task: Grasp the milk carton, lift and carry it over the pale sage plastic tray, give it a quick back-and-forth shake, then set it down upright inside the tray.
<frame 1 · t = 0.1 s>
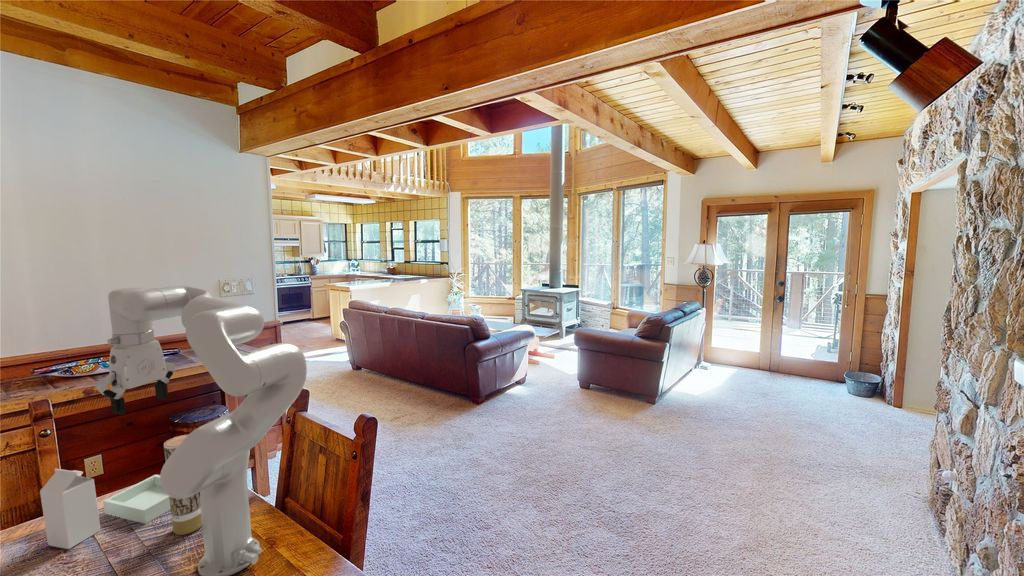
hand: (141, 405, 106), 37 cm above the table, tool pointing down, fingers open, 9 cm apart
paper tube: (189, 528, 115), on the table
milk carton: (75, 538, 112), on the table
tray: (151, 503, 126), on the table
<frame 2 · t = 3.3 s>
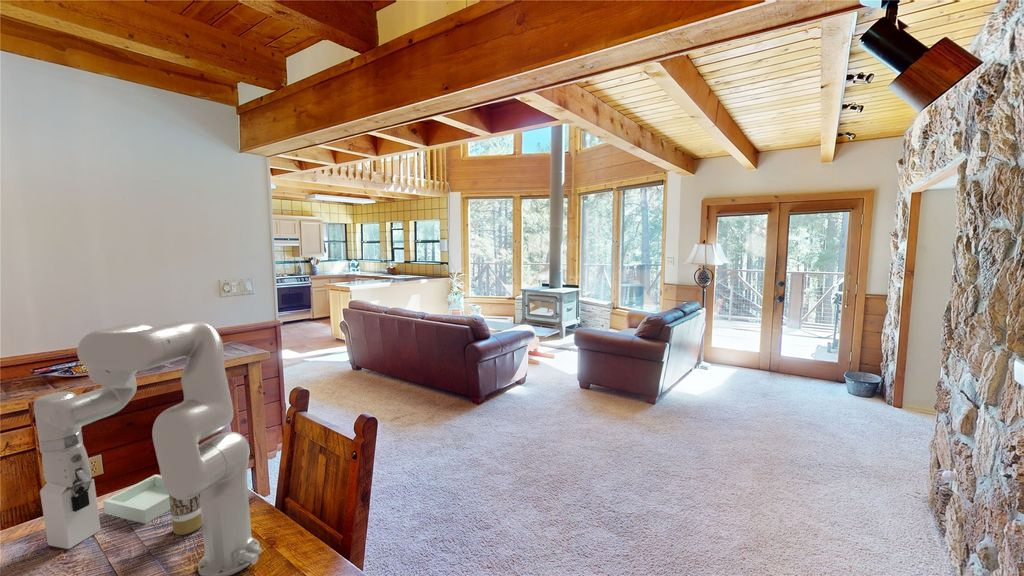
hand: (70, 505, 110), 9 cm above the table, tool pointing down, fingers closed on milk carton, 7 cm apart
milk carton: (75, 538, 112), on the table, touching gripper
everything else where it was.
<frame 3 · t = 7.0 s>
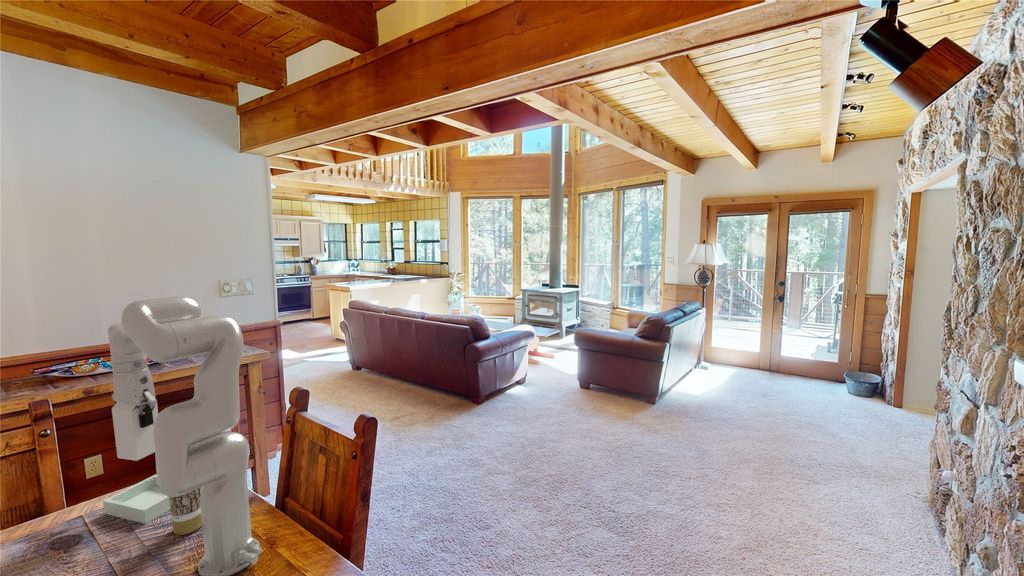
hand: (136, 423, 123), 25 cm above the table, tool pointing down, fingers closed on milk carton, 7 cm apart
milk carton: (140, 454, 125), point 15 cm above the table, touching gripper
everything else where it was.
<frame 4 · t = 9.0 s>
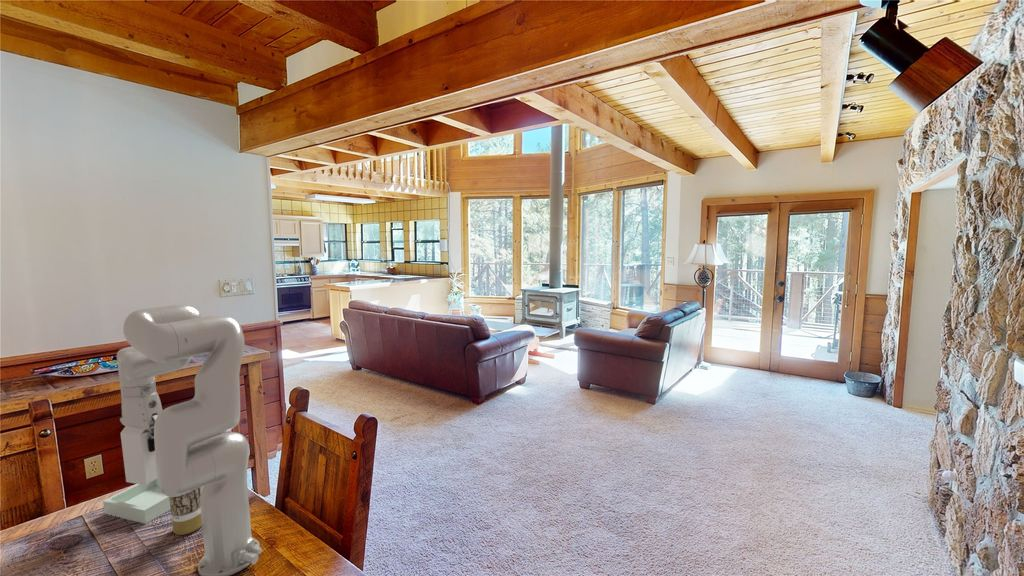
hand: (145, 447, 124), 18 cm above the table, tool pointing down, fingers closed on milk carton, 7 cm apart
milk carton: (148, 477, 125), point 8 cm above the table, touching gripper
everything else where it was.
when the fingers open (12 cm above the table, at t = 10.6 s): milk carton drops 2 cm, resting on tray.
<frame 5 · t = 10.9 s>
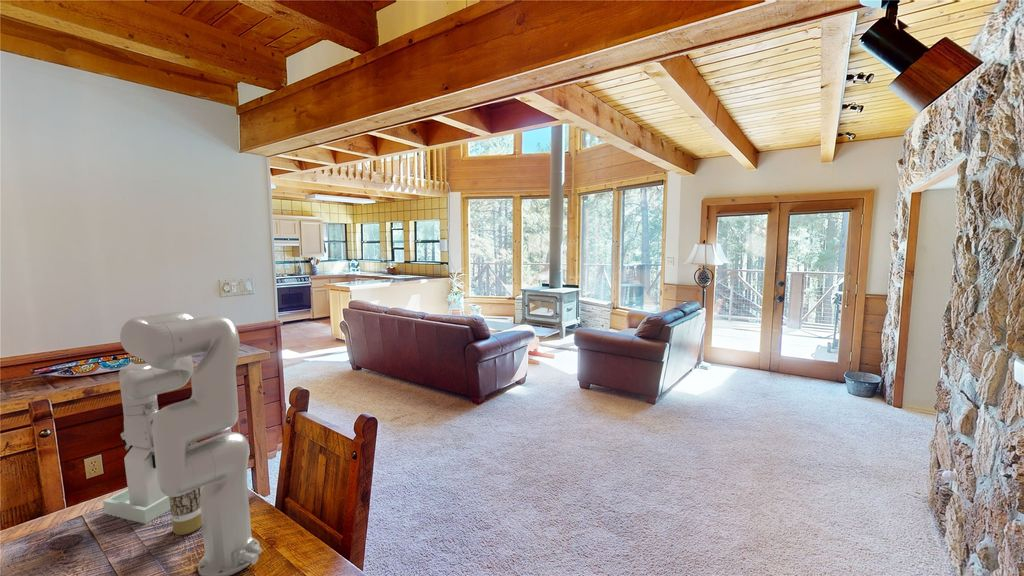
hand: (147, 463, 124), 13 cm above the table, tool pointing down, fingers open, 9 cm apart
milk carton: (152, 501, 125), point 1 cm above the table, touching tray
everything else where it was.
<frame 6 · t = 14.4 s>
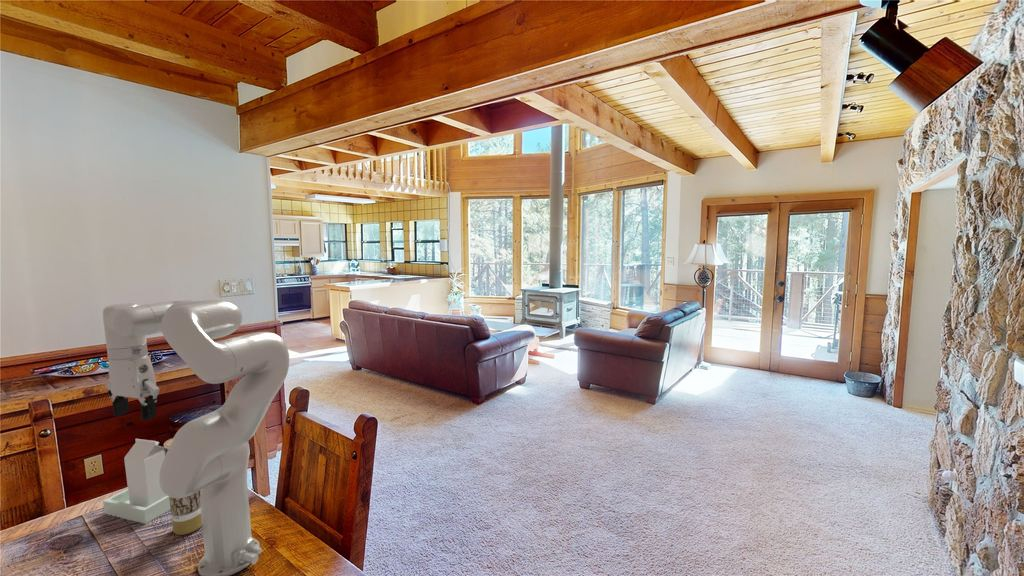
hand: (135, 416, 110), 32 cm above the table, tool pointing down, fingers open, 9 cm apart
nothing on the table moved.
at the end: milk carton inside the target area on the tray (0.4 cm from its centre), point 0.8 cm above the tray's base; milk carton tilted 0°; the gripper is holding nothing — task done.
